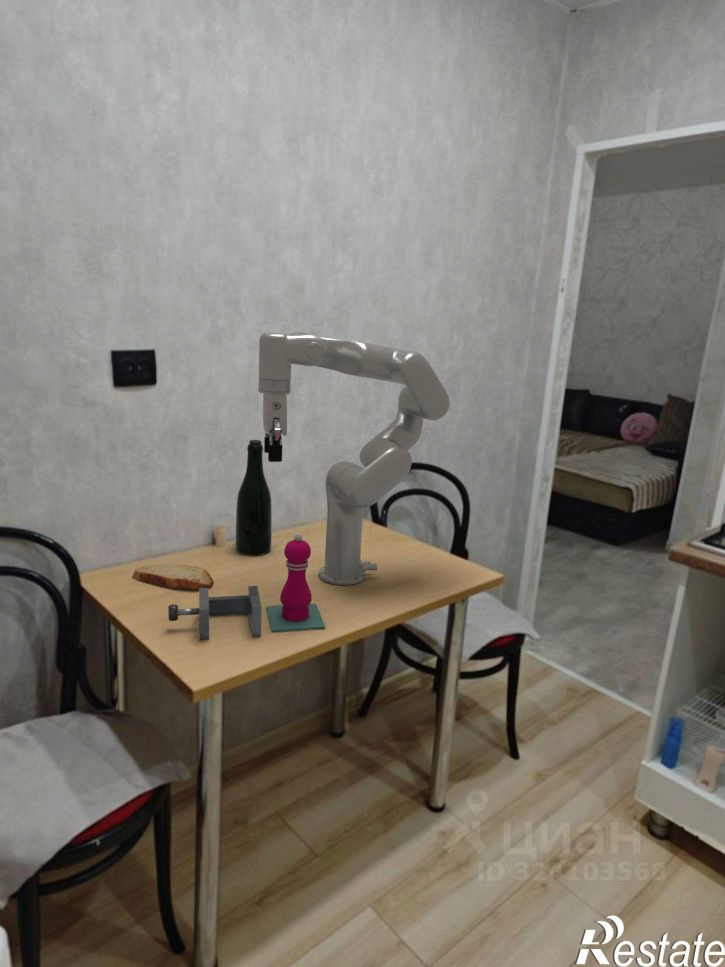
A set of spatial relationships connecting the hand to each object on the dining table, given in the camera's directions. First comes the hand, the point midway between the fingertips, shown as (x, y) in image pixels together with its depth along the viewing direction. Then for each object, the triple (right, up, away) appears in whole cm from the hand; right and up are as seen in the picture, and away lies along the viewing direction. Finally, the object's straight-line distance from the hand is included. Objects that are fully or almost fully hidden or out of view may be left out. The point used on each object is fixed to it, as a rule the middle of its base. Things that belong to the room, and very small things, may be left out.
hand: (272, 456), depth 157 cm
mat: (+6, -38, -7) cm, 39 cm away
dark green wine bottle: (-10, -26, +33) cm, 44 cm away
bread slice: (-27, -32, +9) cm, 43 cm away
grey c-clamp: (-11, -38, -13) cm, 42 cm away
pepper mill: (+6, -37, -7) cm, 39 cm away
